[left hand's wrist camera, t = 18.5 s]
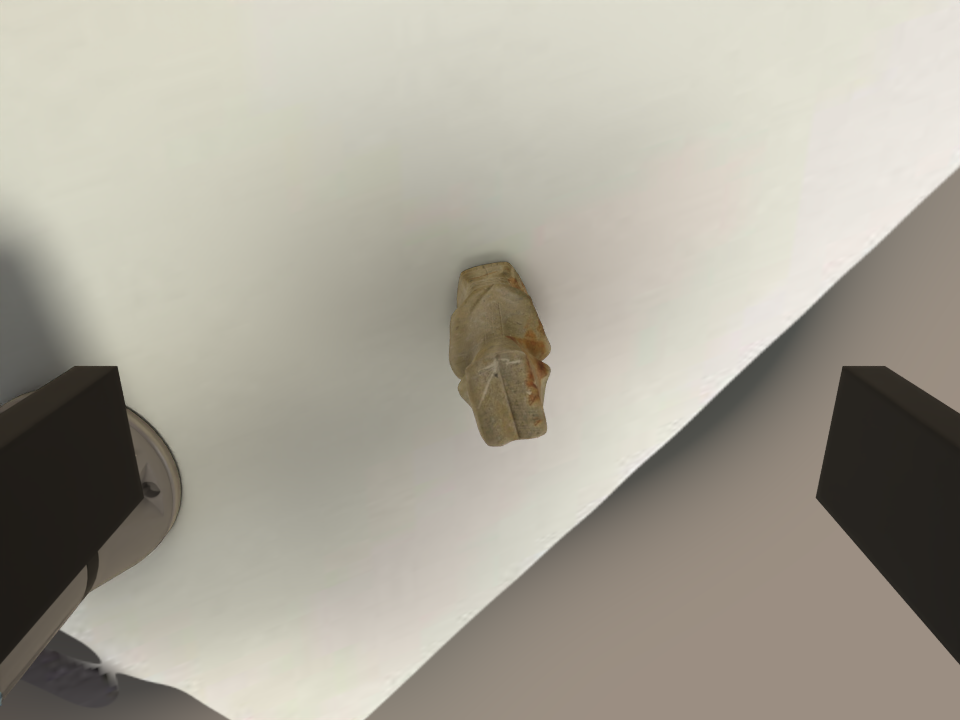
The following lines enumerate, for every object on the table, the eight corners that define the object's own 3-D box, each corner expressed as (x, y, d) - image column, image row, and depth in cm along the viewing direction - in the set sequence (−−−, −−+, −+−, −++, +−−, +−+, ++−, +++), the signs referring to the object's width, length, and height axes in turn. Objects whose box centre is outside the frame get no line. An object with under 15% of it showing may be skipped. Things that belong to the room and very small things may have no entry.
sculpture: (463, 360, 48) (456, 464, 34) (444, 262, 45) (428, 331, 31) (544, 346, 48) (570, 446, 34) (529, 247, 45) (551, 310, 31)
